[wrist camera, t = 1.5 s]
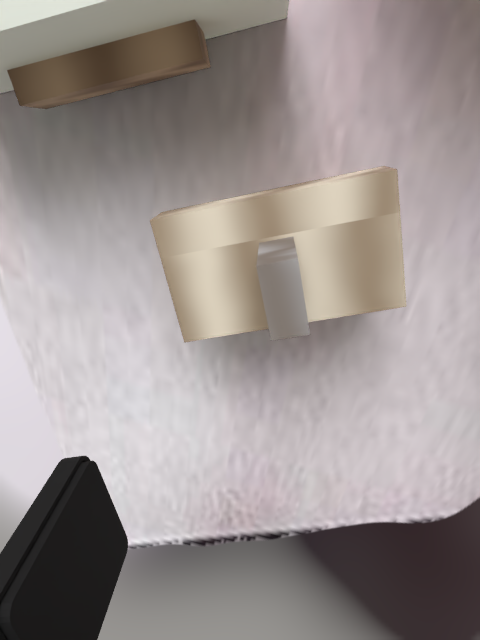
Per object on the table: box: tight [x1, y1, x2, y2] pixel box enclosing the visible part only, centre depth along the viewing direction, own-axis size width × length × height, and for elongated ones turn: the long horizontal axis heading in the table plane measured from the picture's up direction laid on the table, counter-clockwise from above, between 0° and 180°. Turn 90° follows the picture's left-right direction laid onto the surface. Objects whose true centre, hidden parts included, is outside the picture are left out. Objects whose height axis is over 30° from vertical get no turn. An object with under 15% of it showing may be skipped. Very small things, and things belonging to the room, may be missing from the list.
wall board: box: [0, 0, 289, 94], centre depth 25 cm, size 23×2×12 cm, turn 102°
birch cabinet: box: [150, 166, 406, 342], centre depth 28 cm, size 14×8×15 cm, turn 102°
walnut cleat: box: [7, 19, 211, 109], centre depth 28 cm, size 12×2×4 cm, turn 102°
